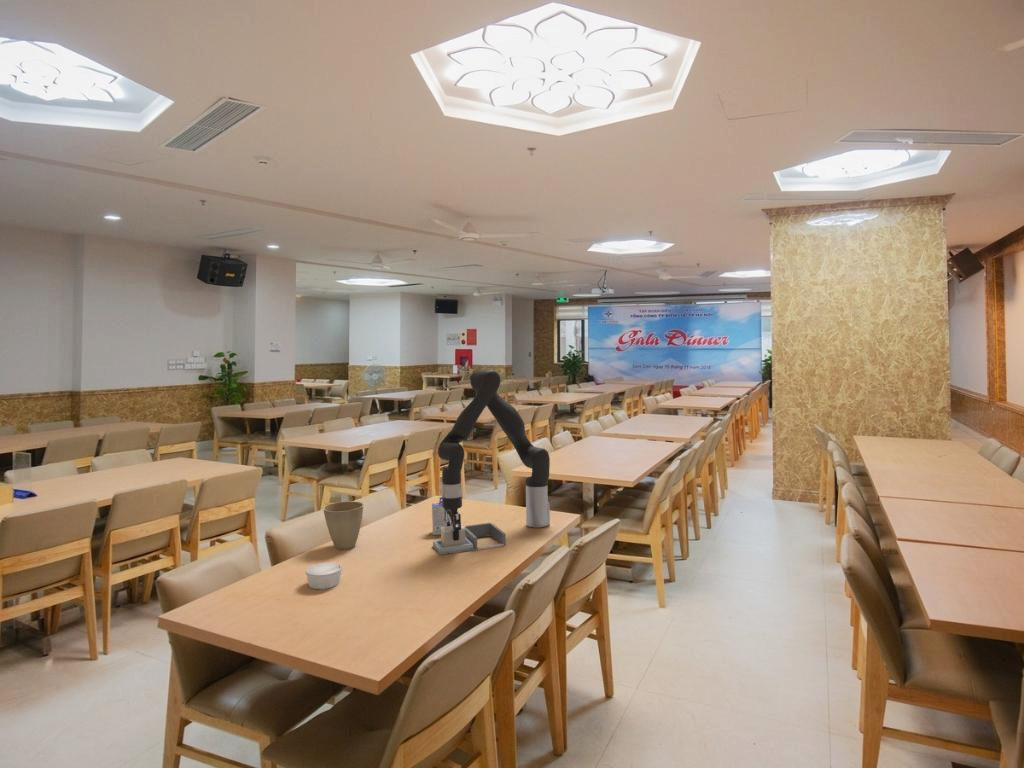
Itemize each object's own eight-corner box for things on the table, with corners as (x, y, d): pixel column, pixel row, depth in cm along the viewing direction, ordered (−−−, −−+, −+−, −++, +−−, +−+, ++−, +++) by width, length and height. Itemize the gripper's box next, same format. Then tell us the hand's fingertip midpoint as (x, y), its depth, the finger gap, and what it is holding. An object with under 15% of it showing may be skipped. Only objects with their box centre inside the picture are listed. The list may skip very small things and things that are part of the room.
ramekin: (338, 590, 185) (337, 573, 185) (302, 592, 185) (301, 575, 184) (345, 576, 197) (345, 561, 196) (311, 578, 196) (310, 562, 196)
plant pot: (340, 539, 236) (339, 499, 235) (372, 542, 231) (371, 502, 230) (316, 551, 222) (314, 509, 221) (349, 555, 217) (348, 512, 216)
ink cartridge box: (456, 530, 246) (455, 495, 245) (457, 534, 240) (456, 499, 240) (432, 531, 245) (431, 497, 244) (432, 535, 239) (431, 500, 238)
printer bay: (492, 534, 239) (492, 522, 239) (506, 545, 225) (506, 532, 225) (463, 538, 235) (462, 526, 234) (475, 550, 220) (474, 537, 220)
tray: (465, 541, 230) (465, 536, 230) (473, 549, 221) (473, 544, 221) (433, 546, 225) (432, 540, 225) (439, 554, 216) (439, 548, 216)
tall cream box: (461, 542, 227) (461, 524, 227) (465, 546, 222) (464, 528, 222) (440, 545, 224) (440, 527, 224) (444, 549, 219) (443, 530, 219)
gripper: (467, 498, 217) (467, 541, 218) (456, 489, 230) (457, 530, 231) (447, 500, 214) (448, 544, 215) (437, 491, 227) (438, 533, 228)
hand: (452, 537), depth 223 cm, fingers open, 8 cm apart
